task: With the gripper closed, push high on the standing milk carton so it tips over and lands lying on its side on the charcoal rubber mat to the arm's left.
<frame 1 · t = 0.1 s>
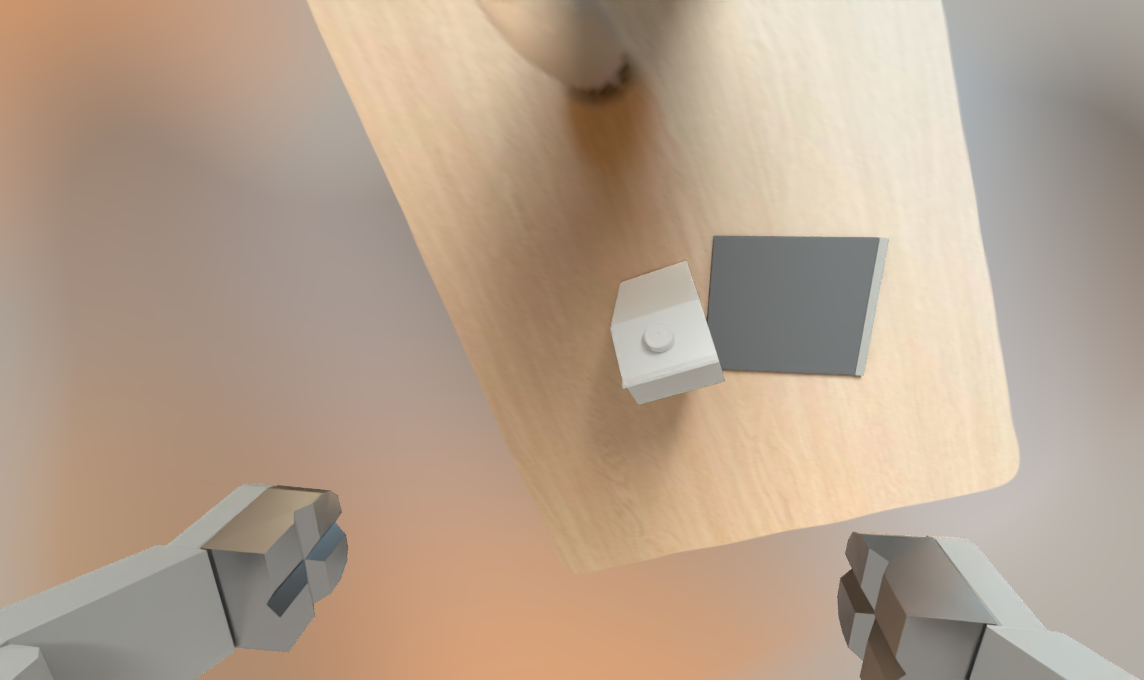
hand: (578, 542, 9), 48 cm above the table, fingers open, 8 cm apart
milk carton: (663, 302, 56), on the table
mat: (789, 306, 54), on the table
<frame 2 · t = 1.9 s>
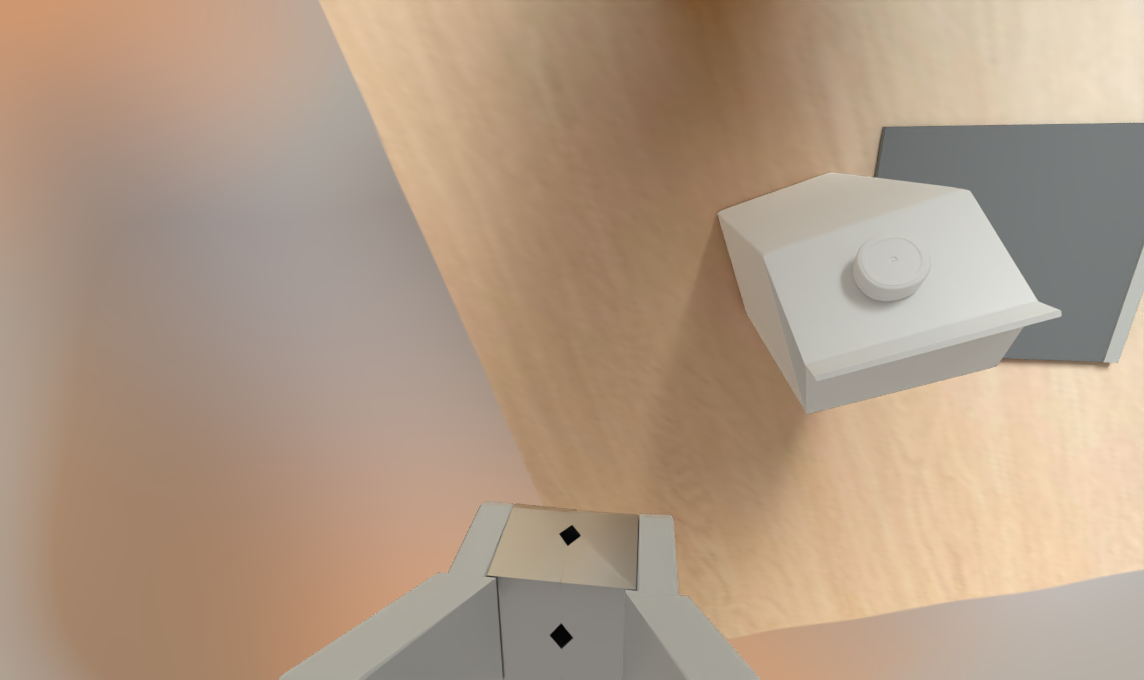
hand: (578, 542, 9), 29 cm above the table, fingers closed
milk carton: (785, 244, 35), on the table
mat: (1001, 248, 33), on the table
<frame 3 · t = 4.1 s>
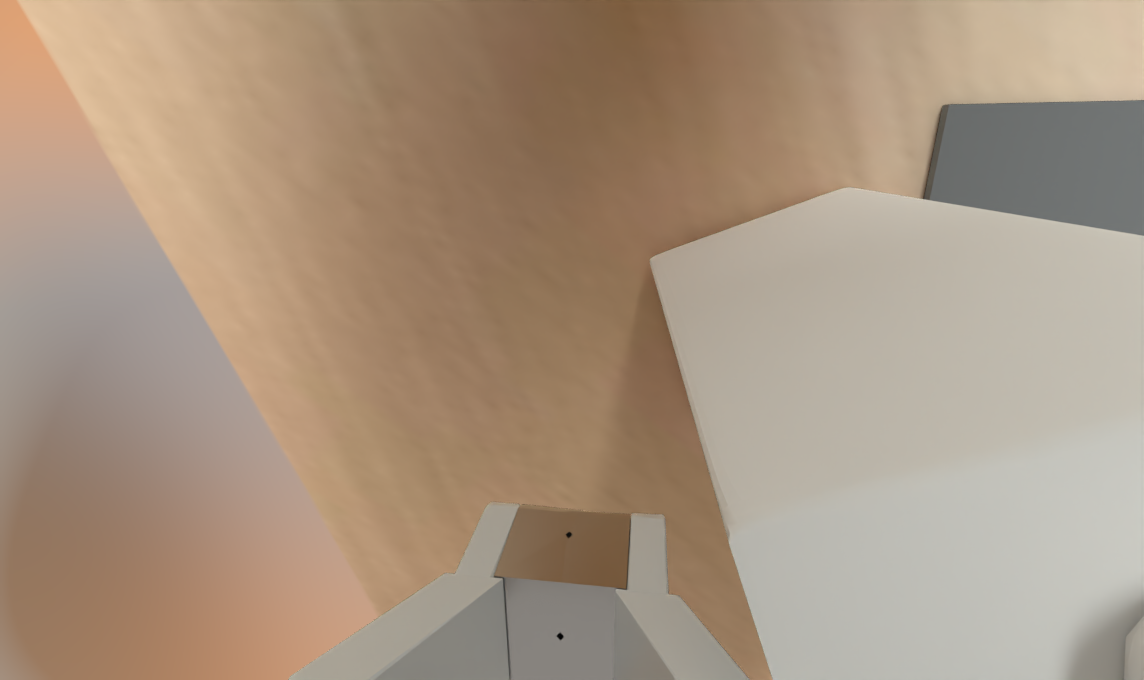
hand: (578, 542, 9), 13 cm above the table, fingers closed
milk carton: (768, 311, 20), on the table, touching gripper
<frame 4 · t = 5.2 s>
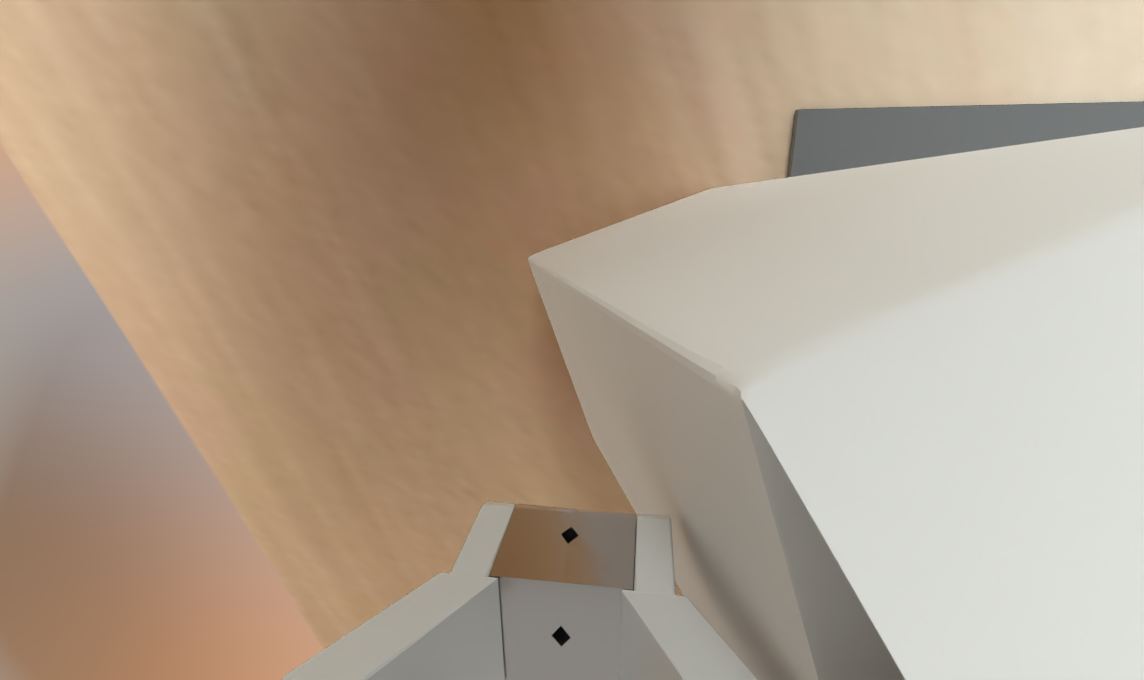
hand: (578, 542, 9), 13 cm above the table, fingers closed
milk carton: (649, 314, 20), point 1 cm above the table, touching gripper
mat: (1006, 319, 19), on the table
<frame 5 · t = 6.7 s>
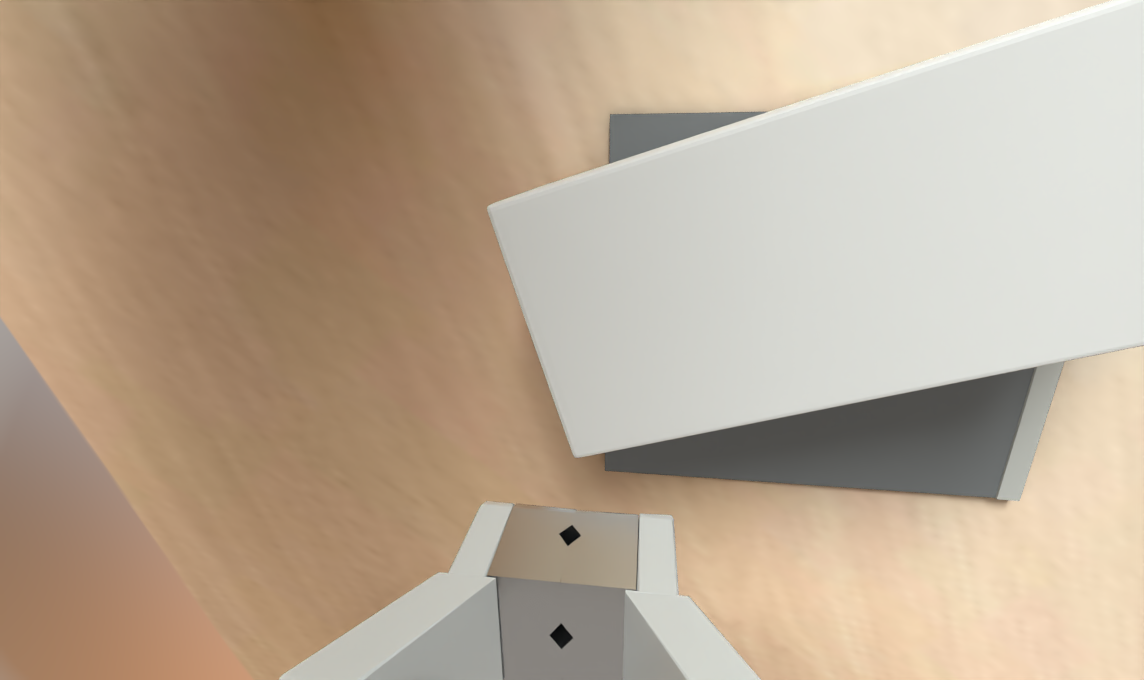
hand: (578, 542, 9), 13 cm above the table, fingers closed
milk carton: (544, 307, 17), point 4 cm above the table, touching mat
mat: (824, 316, 20), on the table
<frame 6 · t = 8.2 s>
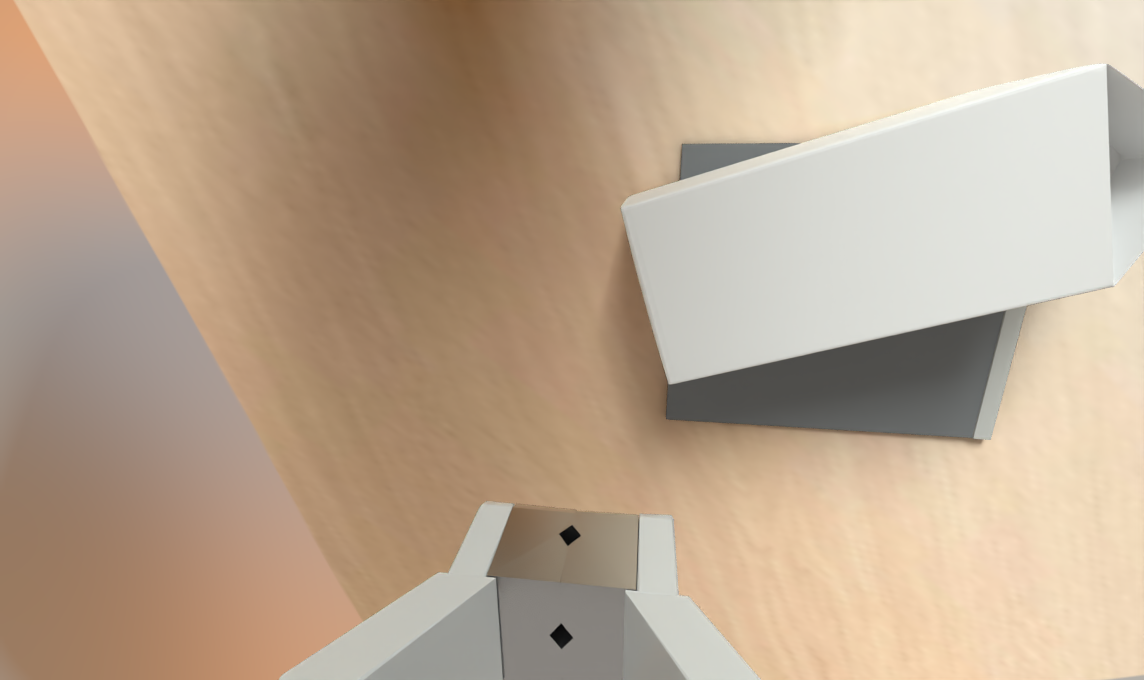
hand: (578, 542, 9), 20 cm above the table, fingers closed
milk carton: (638, 283, 23), point 4 cm above the table, touching mat
mat: (839, 295, 26), on the table
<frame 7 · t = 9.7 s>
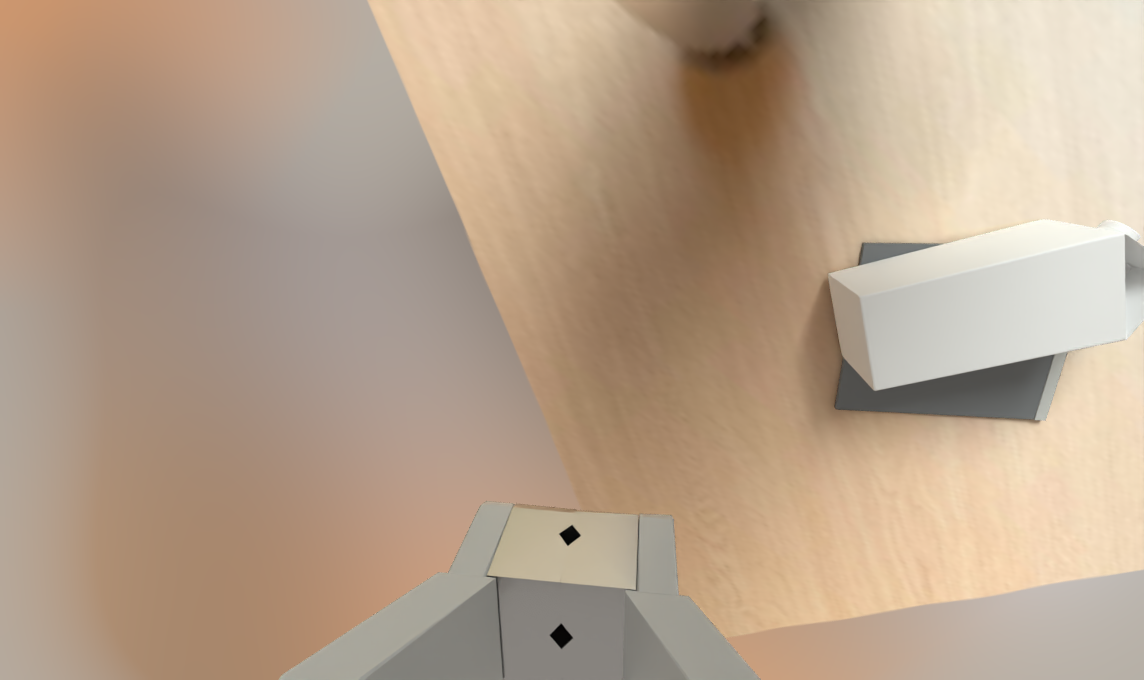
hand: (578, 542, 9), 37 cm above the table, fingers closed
milk carton: (844, 330, 40), point 4 cm above the table, touching mat
mat: (954, 332, 43), on the table
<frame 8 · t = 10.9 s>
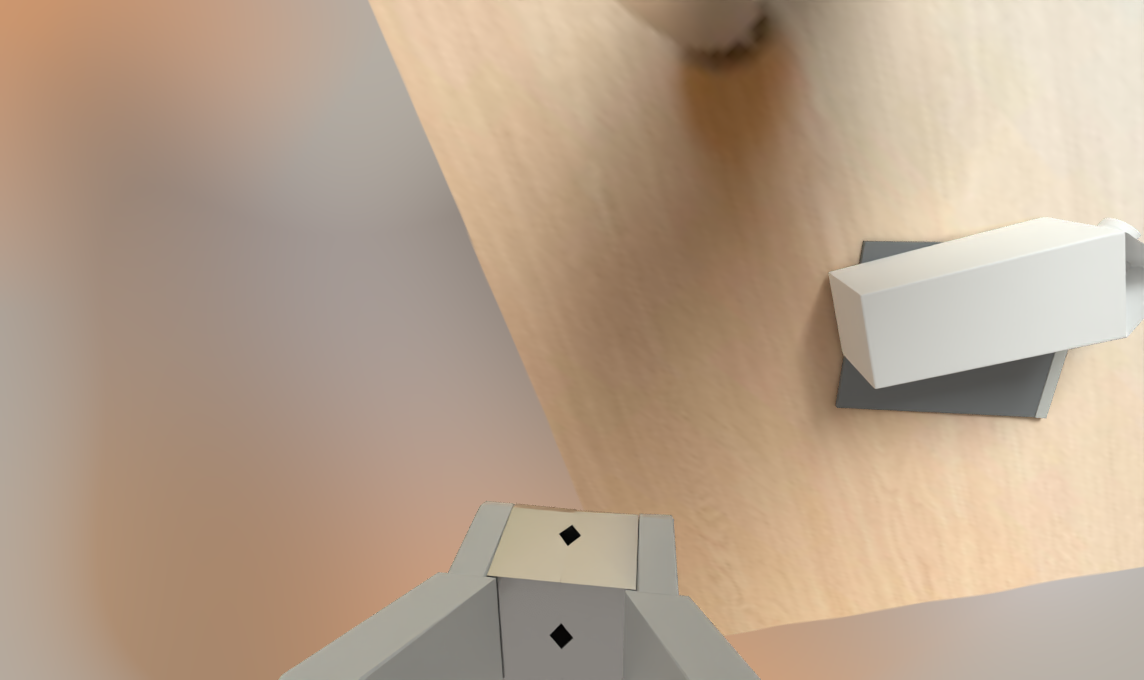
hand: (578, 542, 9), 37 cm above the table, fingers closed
milk carton: (844, 328, 40), point 4 cm above the table, touching mat
mat: (955, 330, 43), on the table
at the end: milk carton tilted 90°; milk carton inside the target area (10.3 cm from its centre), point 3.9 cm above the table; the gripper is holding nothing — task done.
